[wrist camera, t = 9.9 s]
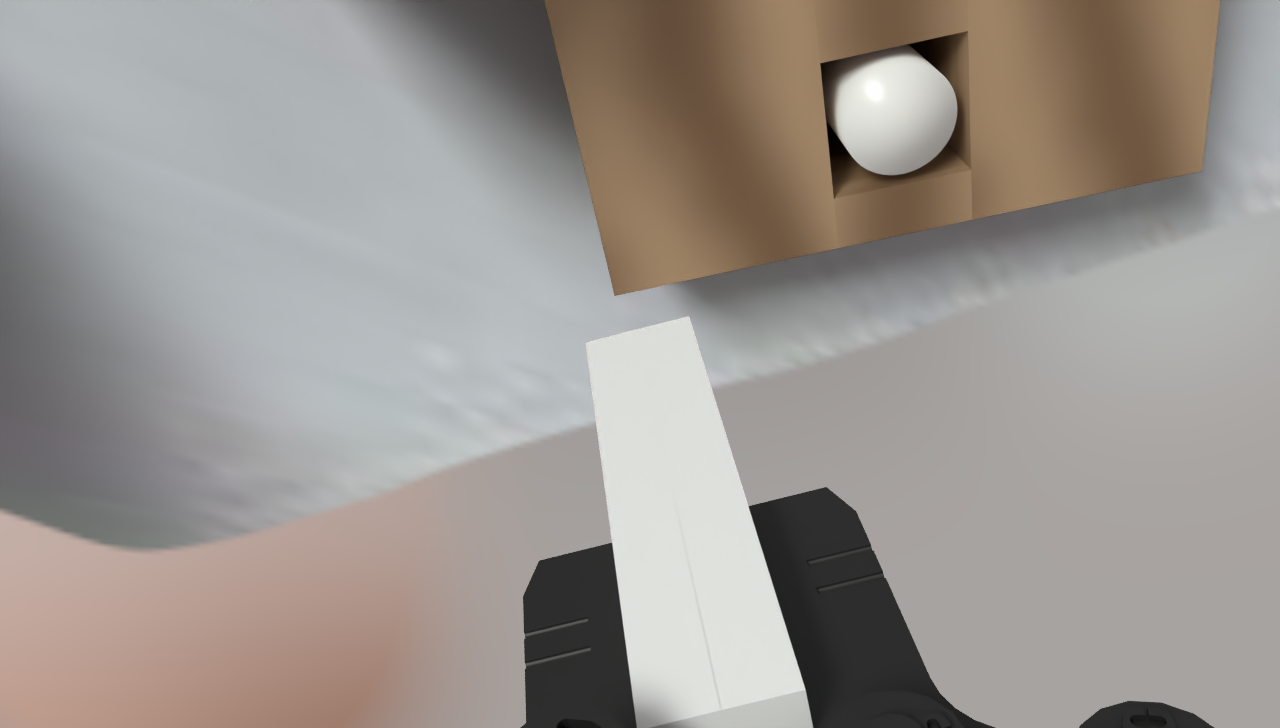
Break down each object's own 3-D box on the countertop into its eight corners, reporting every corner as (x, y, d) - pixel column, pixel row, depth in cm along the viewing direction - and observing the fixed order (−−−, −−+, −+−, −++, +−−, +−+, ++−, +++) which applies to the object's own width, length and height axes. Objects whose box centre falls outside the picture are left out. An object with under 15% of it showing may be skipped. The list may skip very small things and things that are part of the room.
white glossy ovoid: (810, 129, 42) (847, 185, 37) (799, 30, 40) (837, 76, 34) (908, 107, 42) (958, 161, 36) (902, 7, 39) (955, 50, 34)
